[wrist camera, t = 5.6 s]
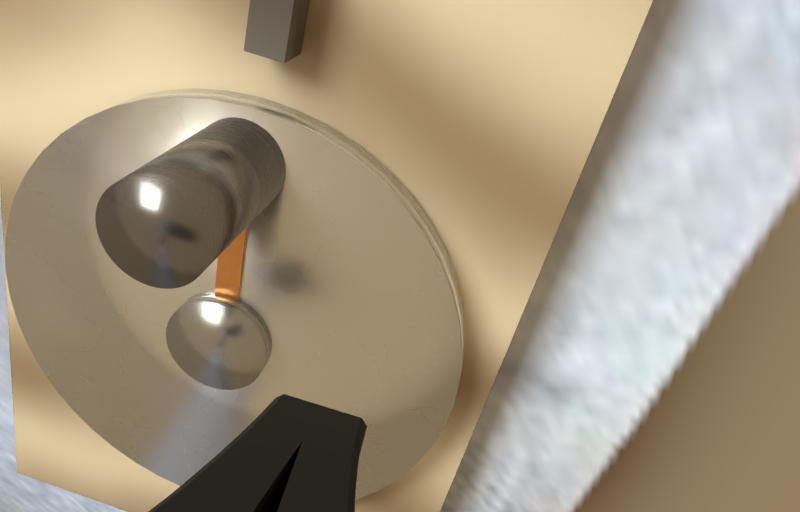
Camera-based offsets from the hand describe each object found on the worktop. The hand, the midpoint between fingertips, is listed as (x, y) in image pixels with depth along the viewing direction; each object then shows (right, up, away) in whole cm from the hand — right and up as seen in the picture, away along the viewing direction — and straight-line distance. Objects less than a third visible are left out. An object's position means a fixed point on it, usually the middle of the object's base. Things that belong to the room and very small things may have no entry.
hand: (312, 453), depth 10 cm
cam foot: (-4, +1, +10) cm, 11 cm away
